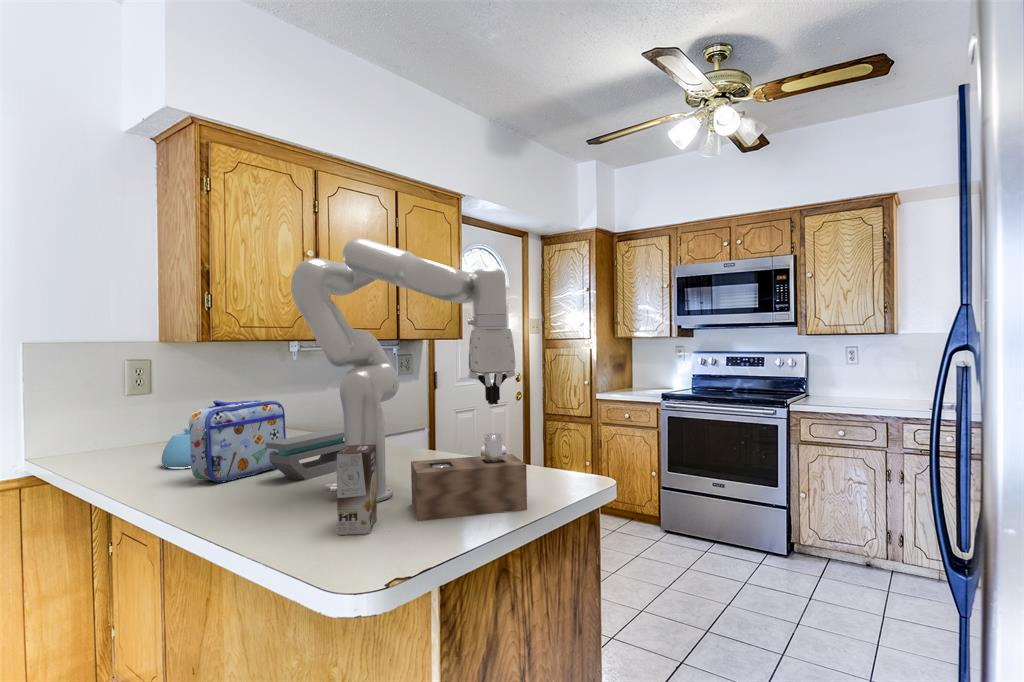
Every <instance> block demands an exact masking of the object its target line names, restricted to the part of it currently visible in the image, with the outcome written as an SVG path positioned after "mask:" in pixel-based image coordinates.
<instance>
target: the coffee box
mask: <svg viewBox="0 0 1024 682" xmlns="http://www.w3.org/2000/svg"><path fill="white" fill-rule="evenodd" d="M336 483H337V492H336V493H337V494H336V495H337V496H336V497H337V500H336V501H337V502H336V503H337V535H339V536H342V535H343V536H344V535H346V536H347V535H368V534H369V533H370V532H371V531H372V528H373V527H374V525H375V523H376V521H377V519H378V518H377V517H378V513H377V512H378V505H377V503H378V502H377V496H376V445H375V444H374V445H348V446H346V447H344V448H343V449H342V450H340V451H339V452H338V453H337V471H336Z"/></svg>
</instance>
